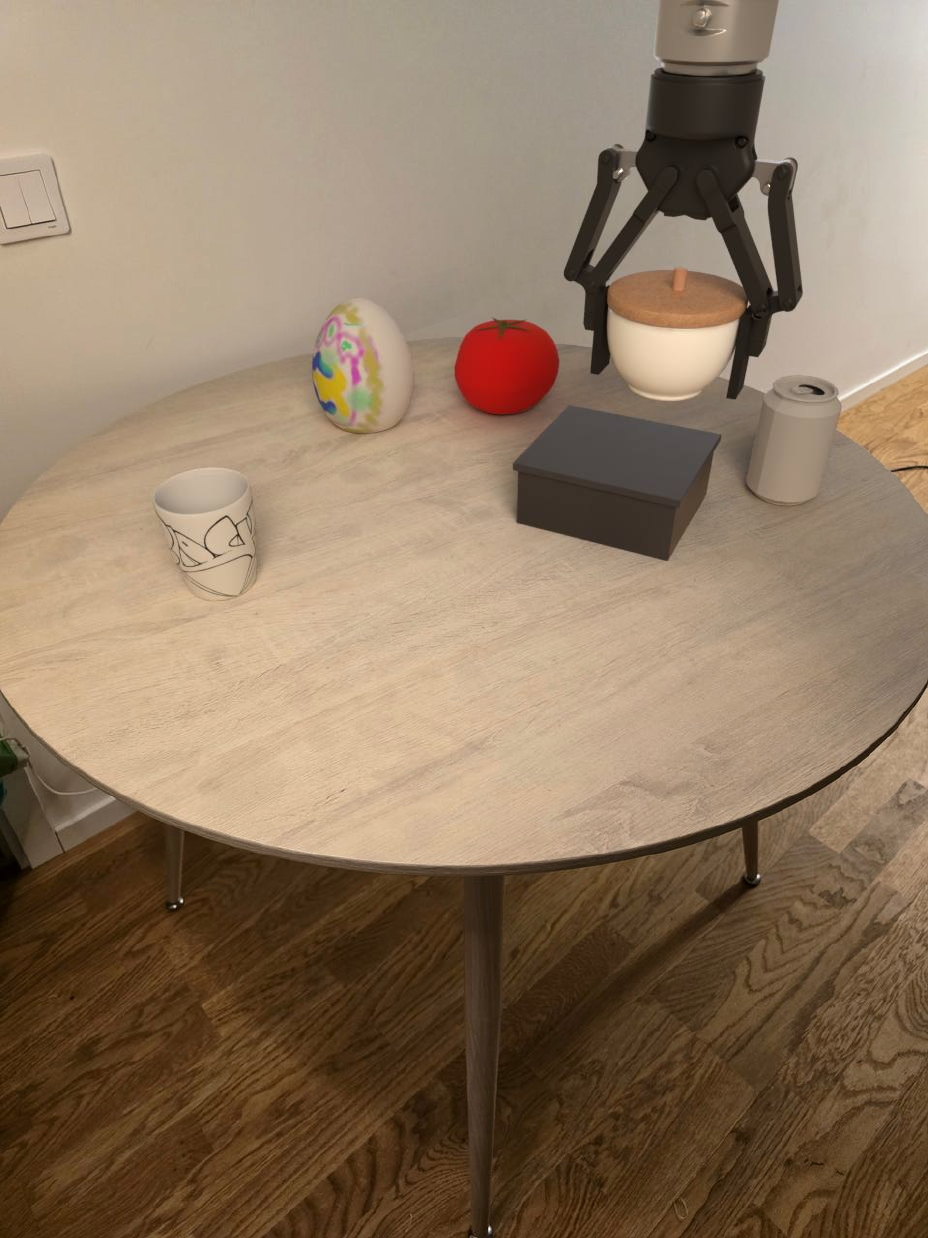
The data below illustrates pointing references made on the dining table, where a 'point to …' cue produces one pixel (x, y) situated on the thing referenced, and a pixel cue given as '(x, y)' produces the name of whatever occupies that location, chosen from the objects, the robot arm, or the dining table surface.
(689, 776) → the dining table surface
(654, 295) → the lidded bowl
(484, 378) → the tomato
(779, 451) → the can
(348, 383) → the decorative egg
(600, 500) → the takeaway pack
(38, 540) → the dining table surface
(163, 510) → the mug
